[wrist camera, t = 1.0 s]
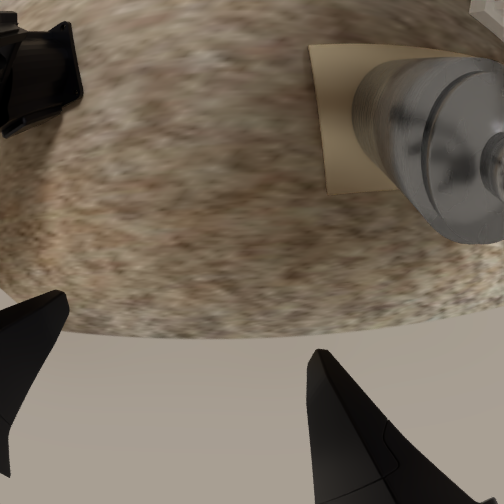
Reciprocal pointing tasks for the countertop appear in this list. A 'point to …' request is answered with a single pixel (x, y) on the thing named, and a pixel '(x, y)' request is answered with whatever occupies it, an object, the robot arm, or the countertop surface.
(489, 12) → the dollhouse
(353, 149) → the tan rectangular board
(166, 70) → the countertop surface
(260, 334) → the countertop surface
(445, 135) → the grey lidded jar
